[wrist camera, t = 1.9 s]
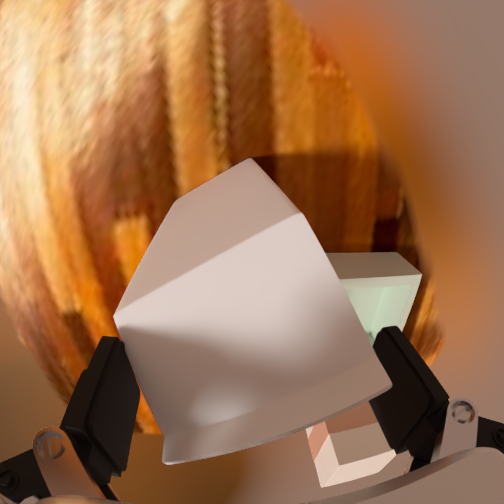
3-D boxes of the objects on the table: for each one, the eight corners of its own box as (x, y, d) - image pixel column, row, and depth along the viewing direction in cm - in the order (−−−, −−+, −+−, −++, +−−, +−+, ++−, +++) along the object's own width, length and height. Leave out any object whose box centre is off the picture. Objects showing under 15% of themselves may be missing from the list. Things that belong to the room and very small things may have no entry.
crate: (295, 253, 25) (309, 280, 21) (396, 252, 27) (422, 274, 22) (275, 397, 34) (281, 426, 30) (351, 387, 35) (362, 412, 31)
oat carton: (302, 355, 30) (338, 465, 17) (356, 348, 31) (405, 445, 18) (295, 391, 33) (320, 487, 20) (343, 384, 33) (379, 471, 21)
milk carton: (173, 201, 22) (73, 406, 5) (250, 156, 22) (363, 283, 4) (218, 268, 25) (224, 490, 8) (290, 229, 24) (402, 428, 7)
